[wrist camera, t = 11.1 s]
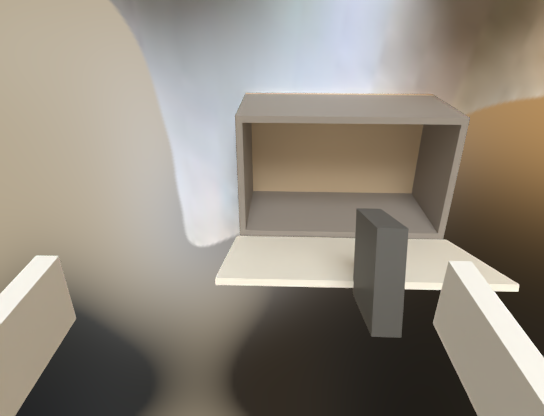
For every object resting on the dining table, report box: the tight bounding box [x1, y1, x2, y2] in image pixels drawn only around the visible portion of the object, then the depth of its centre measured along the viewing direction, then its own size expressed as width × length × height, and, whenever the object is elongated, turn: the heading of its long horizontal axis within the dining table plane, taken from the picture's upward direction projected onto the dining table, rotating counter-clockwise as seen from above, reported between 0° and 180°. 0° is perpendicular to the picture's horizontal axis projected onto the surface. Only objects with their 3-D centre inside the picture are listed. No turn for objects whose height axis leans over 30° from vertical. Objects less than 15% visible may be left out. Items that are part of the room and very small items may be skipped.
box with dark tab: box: [215, 208, 519, 337], centre depth 30 cm, size 21×18×6 cm
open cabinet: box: [235, 93, 470, 239], centre depth 42 cm, size 20×12×10 cm, turn 90°
